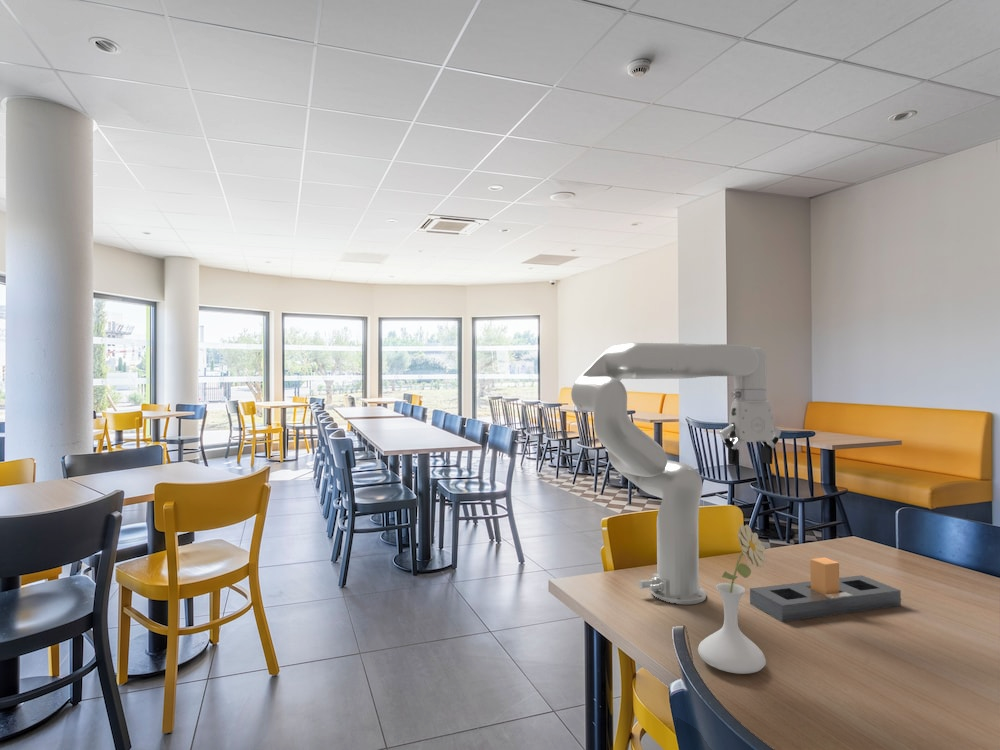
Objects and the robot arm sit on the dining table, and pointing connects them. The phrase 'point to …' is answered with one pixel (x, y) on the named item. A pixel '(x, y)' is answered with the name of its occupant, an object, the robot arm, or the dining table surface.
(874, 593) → the peg board
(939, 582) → the dining table surface
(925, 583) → the dining table surface
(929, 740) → the dining table surface
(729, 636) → the flower in vase
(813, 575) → the square peg
